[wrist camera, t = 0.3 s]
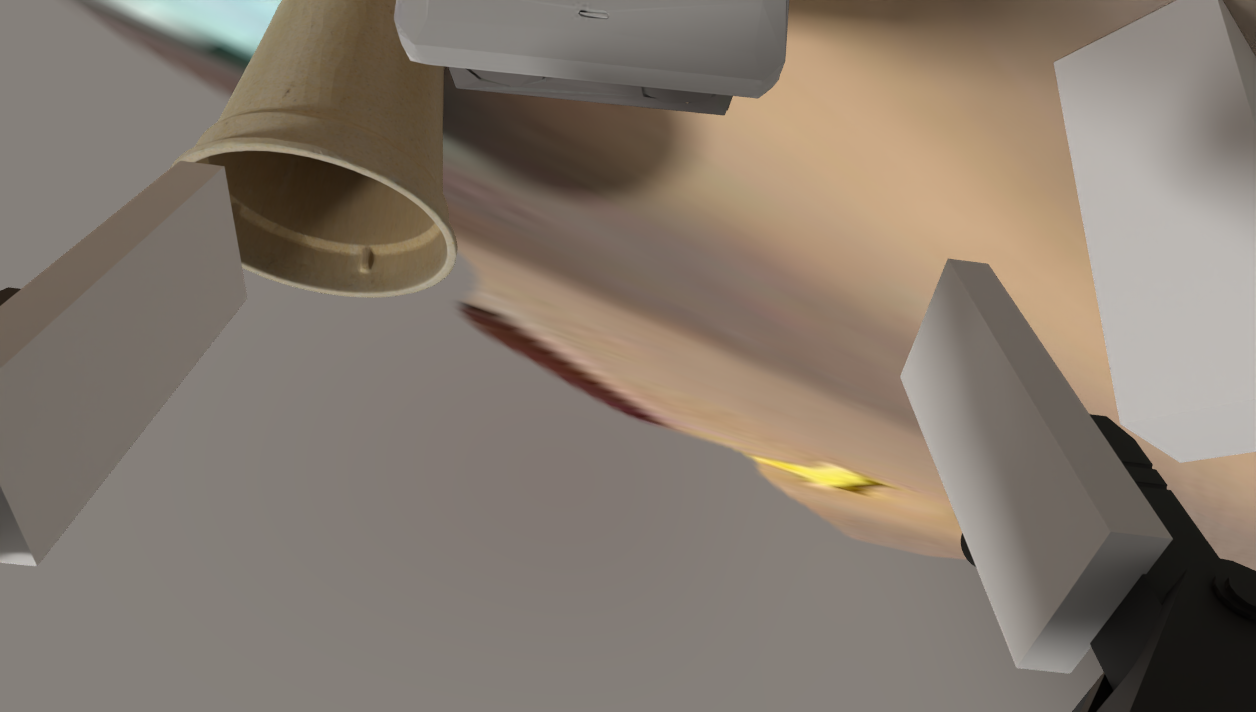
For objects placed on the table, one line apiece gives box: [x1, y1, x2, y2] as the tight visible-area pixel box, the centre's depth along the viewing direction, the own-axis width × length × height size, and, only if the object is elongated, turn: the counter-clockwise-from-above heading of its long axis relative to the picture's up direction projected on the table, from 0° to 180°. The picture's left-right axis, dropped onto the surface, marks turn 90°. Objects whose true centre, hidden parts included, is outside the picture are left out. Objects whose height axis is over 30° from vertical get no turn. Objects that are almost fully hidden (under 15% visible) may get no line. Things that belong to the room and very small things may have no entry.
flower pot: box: [171, 0, 457, 297], centre depth 29 cm, size 9×9×9 cm
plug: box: [1054, 0, 1256, 463], centre depth 27 cm, size 5×6×14 cm
